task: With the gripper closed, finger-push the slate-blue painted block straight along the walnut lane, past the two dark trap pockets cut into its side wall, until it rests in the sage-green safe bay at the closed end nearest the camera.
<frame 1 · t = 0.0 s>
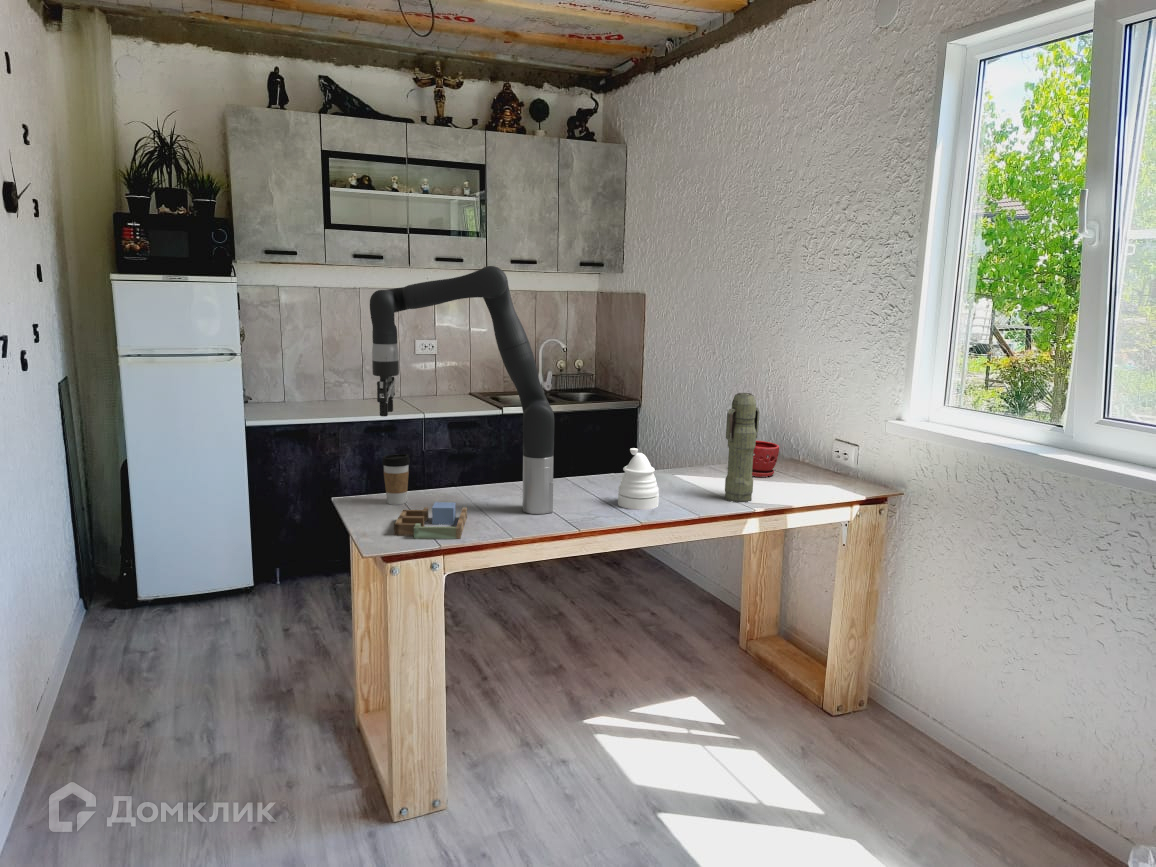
hand: (386, 413, 231), 29 cm above the table, fingers open, 8 cm apart
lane: (441, 527, 220), on the table
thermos: (737, 499, 258), on the table
plant pot: (759, 475, 293), on the table
block: (444, 521, 226), on the table
honey pot: (638, 504, 249), on the table
coffee cup: (396, 502, 245), on the table
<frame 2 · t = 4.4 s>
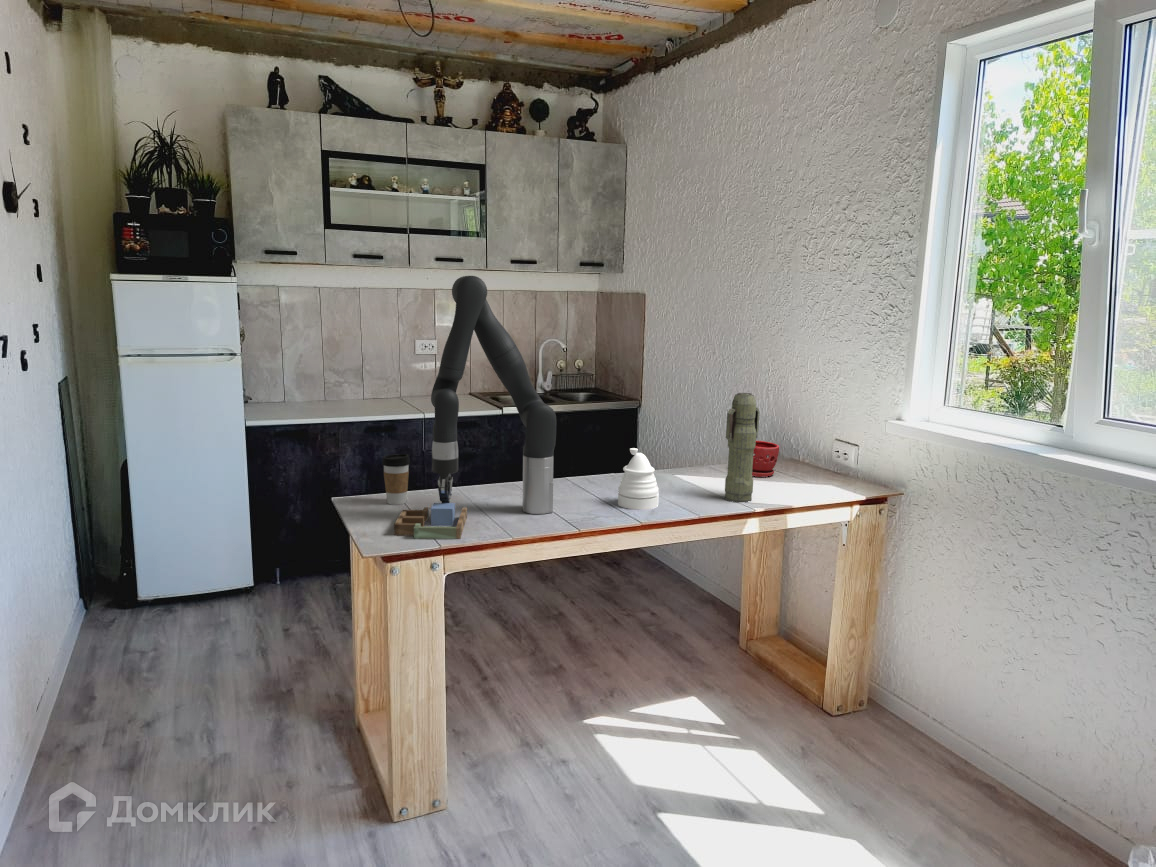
hand: (445, 513, 230), 1 cm above the table, fingers closed
block: (443, 522, 225), on the table, touching gripper
everything else where it was.
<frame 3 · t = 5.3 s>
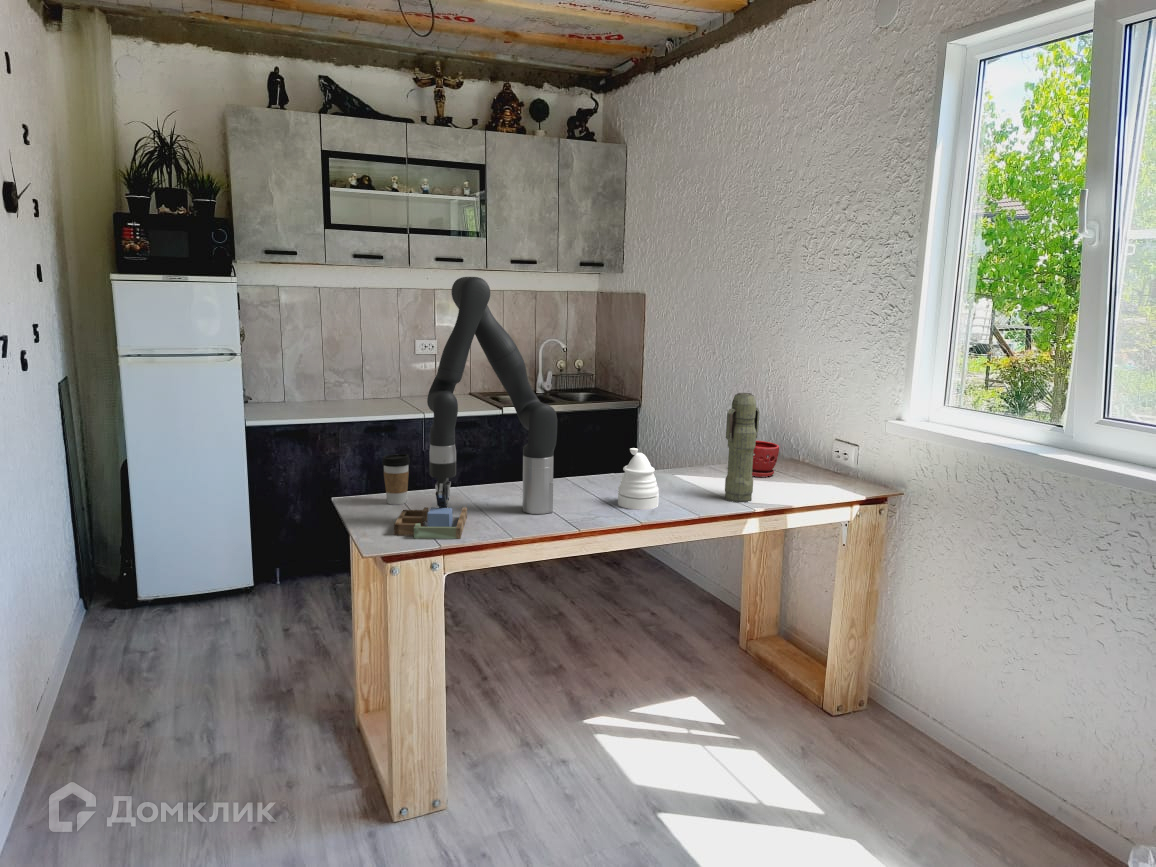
hand: (443, 518, 225), 1 cm above the table, fingers closed
block: (440, 527, 220), on the table, touching gripper
everything else where it was.
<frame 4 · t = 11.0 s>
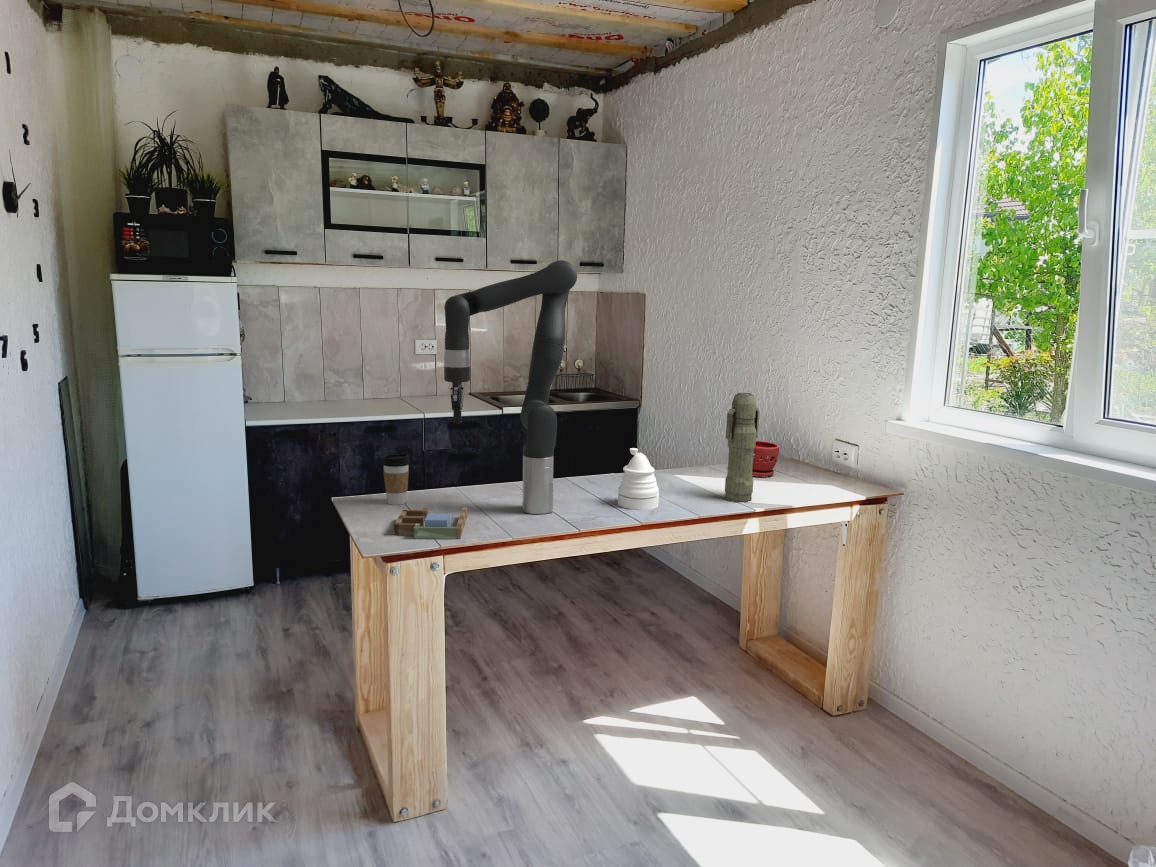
hand: (457, 423, 231), 27 cm above the table, fingers closed
block: (437, 534, 214), on the table
everything else where it was.
at the end: block inside the target area (0.5 cm from its centre), on the table; block tilted 0° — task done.
